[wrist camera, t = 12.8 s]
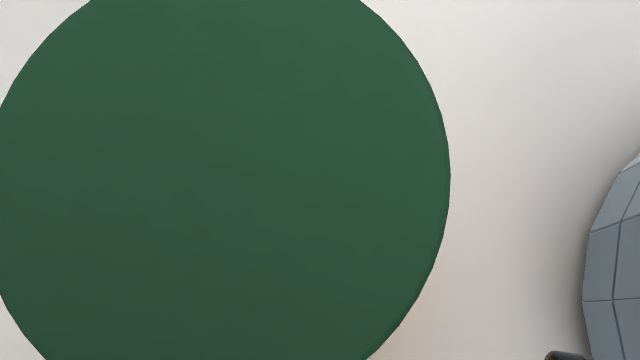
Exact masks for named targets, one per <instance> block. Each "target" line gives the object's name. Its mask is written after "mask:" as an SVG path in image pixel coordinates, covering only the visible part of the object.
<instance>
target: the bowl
mask: <svg viewBox="0 0 640 360" xmlns="http://www.w3.org/2000/svg"><path fill="white" fill-rule="evenodd" d="M581 300H582V301H583V302H582V308H583V313H584V318H585V323H586V328H587V333H588V338H589V343H590V348H591V353H592V358H593V360H640V153H639V154H638V155H637V156H636V157H635V158H634V159H633V160H632V161H631V162H630V163H629V164H628V165H627V166H626V167H625V168H623V169H622V170H621V171H620V172H619V174H618V175H617V176H616V178H615V180H614V182H613V185H612V187H611V189H610V191H609V193H608V195H607V197H606V199H605V201H604V203H603V205H602V207H601V209H600V211H599V213H598V215H597V217H596V219H595V221H594V223H593V225H592V227H591V229H590V234H589V238H588V246H587V255H586V263H585V272H584V280H583V289H582V297H581Z"/></svg>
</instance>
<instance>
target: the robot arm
mask: <svg viewBox="0 0 640 360" xmlns="http://www.w3.org/2000/svg"><path fill="white" fill-rule="evenodd" d="M544 360H586V359H585V358H584V357H582V356H581V355H578V354H573V353H566V352H560V351H551V352H549V353H548V354H547V355H546V357H545V359H544Z"/></svg>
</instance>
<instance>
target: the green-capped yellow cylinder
mask: <svg viewBox="0 0 640 360" xmlns="http://www.w3.org/2000/svg"><path fill="white" fill-rule="evenodd" d="M450 178H451V173H450V160H449V148H448V141H447V137H446V132H445V128H444V123H443V119H442V115H441V112H440V109H439V106H438V104H437V101H436V98H435V96H434V93H433V90H432V88H431V86H430V84H429V82H428V80H427V78H426V76H425V74H424V73H423V71H422V69H421V67H420V65H419V63H418V61H417V60H416V59H415V57H414V56H413V54H412V53H411V52H410V50H409V49H408V48H407V46H406V45H405V43H404V42H403V41H402V39H401V38H400V37H399V36H398V35H397V34H396V33H395V32H394V31H393V30H392V29H391V27H390V26H389V25H388V24H387V23H386V22H385V21H384V20H383V19H382V18H381V17H380V16H379V15H377V14H376V13H375V12H374V11H372V10H371V9H370V8H369V7H367V6H366V5H365V4H364V3H362V2H361V1H360V0H91V1H89V2H88V3H87V4H85V5H84V6H83V7H81V8H80V9H78V10H77V11H76V12H74V13H73V14H72V15H70V16H69V17H68V18H67V19H66V20H65V21H64V22H63V23H62V24H60V25H59V26H58V27H57V28H56V29H55V30H54V31H53V32H52V33H51V34H50V35H49V36H48V37H47V38H46V39H45V40H44V41H43V43H42V44H41V45H40V46H39V47H38V48H37V50H36V51H35V52H34V53H33V54H32V55H31V57H30V58H29V59H28V61H27V62H26V64H25V65H24V67H23V68H22V70H21V71H20V73H19V74H18V76H17V77H16V79H15V80H14V82H13V84H12V85H11V87H10V89H9V91H8V93H7V95H6V97H5V99H4V101H3V103H2V105H1V107H0V295H1V297H2V299H3V302H4V304H5V306H6V308H7V310H8V311H9V313H10V314H11V316H12V317H13V319H14V321H15V322H16V324H17V325H18V327H19V328H20V330H21V331H22V333H23V334H24V336H25V337H26V338H27V339H28V340H29V341H30V342H31V344H32V345H33V346H34V347H35V348H36V349H37V350H38V352H39V353H40V354H41V355H42V356H43V357H44V358H45V359H46V360H366V359H367V358H369V357H370V356H371V355H372V354H373V353H374V352H376V351H377V350H378V349H379V347H380V346H381V345H382V344H383V343H384V342H385V341H386V340H387V338H388V337H389V336H390V335H391V334H392V333H393V332H394V331H395V329H396V328H397V327H398V326H399V325H400V323H401V322H402V320H403V319H404V317H405V316H406V315H407V313H408V312H409V310H410V309H411V307H412V306H413V304H414V303H415V301H416V300H417V298H418V296H419V294H420V292H421V290H422V288H423V286H424V284H425V282H426V280H427V278H428V276H429V274H430V272H431V270H432V268H433V265H434V262H435V259H436V256H437V253H438V251H439V248H440V245H441V242H442V239H443V235H444V229H445V224H446V219H447V214H448V208H449V197H450Z"/></svg>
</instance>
